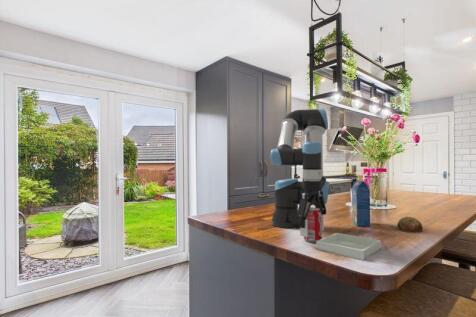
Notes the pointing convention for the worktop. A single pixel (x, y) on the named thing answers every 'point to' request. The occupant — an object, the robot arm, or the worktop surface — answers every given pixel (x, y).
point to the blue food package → (360, 203)
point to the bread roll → (409, 225)
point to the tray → (348, 245)
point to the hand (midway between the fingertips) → (312, 233)
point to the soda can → (314, 225)
